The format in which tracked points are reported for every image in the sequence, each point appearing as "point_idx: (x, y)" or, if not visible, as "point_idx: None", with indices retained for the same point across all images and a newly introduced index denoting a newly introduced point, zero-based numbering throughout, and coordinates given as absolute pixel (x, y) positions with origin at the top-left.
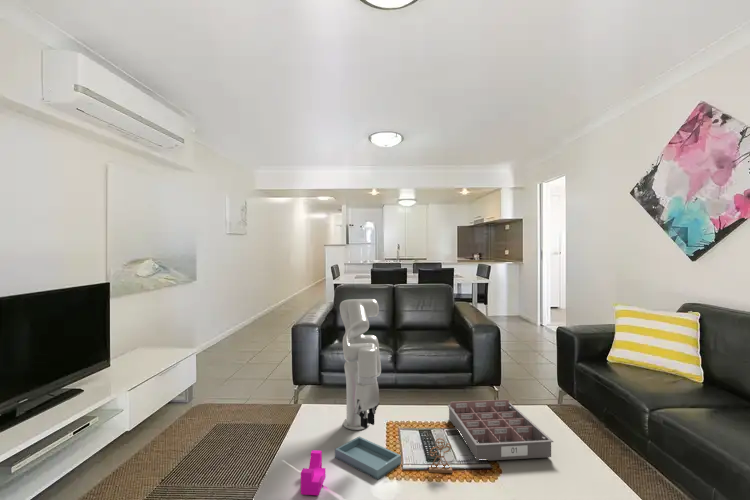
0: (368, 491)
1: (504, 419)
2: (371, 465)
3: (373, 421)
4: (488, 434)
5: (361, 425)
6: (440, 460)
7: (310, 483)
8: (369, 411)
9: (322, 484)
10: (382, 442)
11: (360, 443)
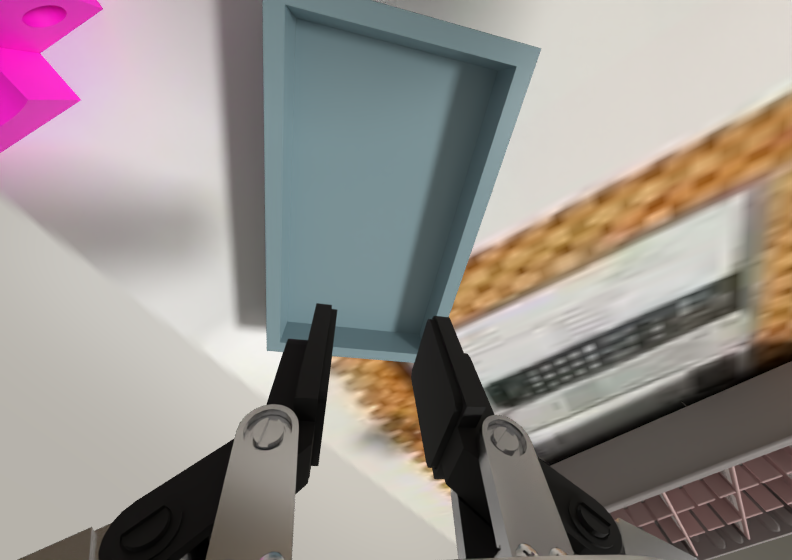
0: (196, 333)
1: (743, 520)
2: (279, 314)
3: (419, 406)
4: (652, 497)
5: (288, 340)
6: None
7: None
8: (474, 457)
9: (22, 137)
10: (578, 181)
11: (497, 85)
